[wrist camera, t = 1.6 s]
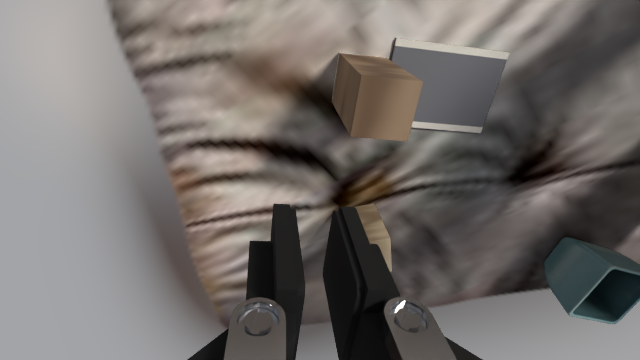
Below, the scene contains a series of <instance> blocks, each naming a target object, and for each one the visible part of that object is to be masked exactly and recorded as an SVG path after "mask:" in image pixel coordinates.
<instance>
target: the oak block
mask: <svg viewBox="0 0 640 360" xmlns="http://www.w3.org/2000/svg"><path fill="white" fill-rule="evenodd" d="M355 208H356V209H357V212H358V214H359V217H360V219H361V222H362V225H363V227H364V230H365V232H366V235H367V237H368V240H369V242H370V244H377V245H378V246H379V247H380V250H381V252H382V254H383V257H384V259H385V261H386V264H387V266H388V268H389V271H390V272H392V263H391V240H390V236H389V234H388V232H387V230H386V228H385V225H384V223H383V221H382V219H381V217H380V215H379V213H378V211H377V209H376V207H375V205H374V204H369V205H363V206H358V207H355ZM336 211H338V210H336Z"/></svg>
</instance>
